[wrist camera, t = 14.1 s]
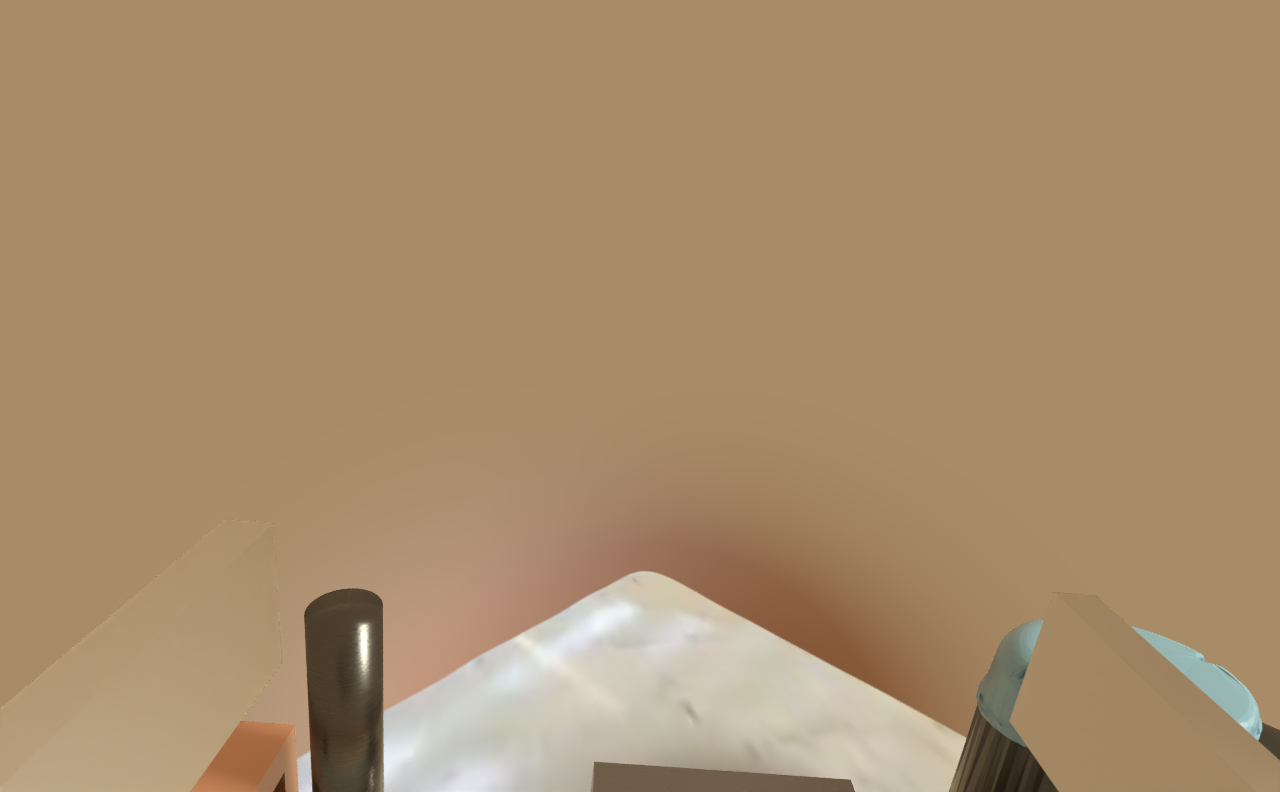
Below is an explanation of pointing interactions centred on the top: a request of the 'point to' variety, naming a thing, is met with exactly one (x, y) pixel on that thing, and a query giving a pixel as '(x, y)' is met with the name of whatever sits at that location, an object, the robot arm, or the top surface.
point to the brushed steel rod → (345, 691)
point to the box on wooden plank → (704, 780)
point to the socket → (254, 761)
